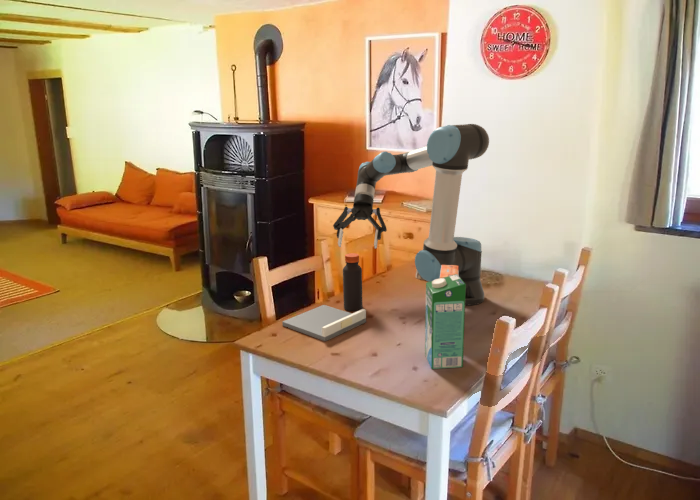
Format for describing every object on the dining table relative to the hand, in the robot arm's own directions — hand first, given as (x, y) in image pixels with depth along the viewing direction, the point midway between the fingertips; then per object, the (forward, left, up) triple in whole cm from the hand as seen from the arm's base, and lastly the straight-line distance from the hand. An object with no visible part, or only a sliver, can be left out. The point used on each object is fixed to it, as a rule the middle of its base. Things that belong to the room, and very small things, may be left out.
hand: (357, 246), depth 211 cm
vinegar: (-6, +9, -21) cm, 23 cm away
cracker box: (-44, +6, -21) cm, 49 cm away
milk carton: (-54, +24, -21) cm, 62 cm away
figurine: (-6, -36, -21) cm, 42 cm away
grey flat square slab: (-8, +26, -20) cm, 34 cm away
